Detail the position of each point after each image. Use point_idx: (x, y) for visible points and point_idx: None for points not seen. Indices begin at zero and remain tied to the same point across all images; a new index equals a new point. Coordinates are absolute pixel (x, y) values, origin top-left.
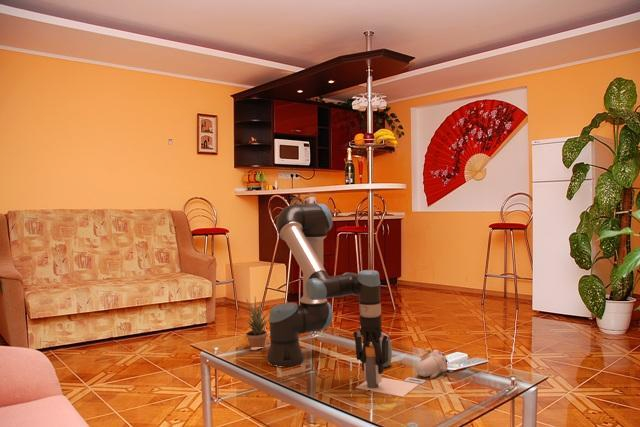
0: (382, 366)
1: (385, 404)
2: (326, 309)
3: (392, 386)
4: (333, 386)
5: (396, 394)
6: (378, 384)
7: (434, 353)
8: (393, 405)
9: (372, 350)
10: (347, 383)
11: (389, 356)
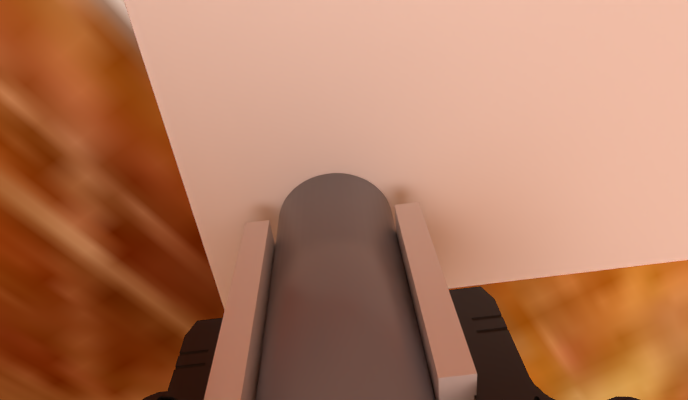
0: (520, 374)
1: (594, 393)
2: None
3: (513, 121)
4: (54, 369)
5: (623, 255)
6: (391, 215)
7: None
8: (651, 380)
9: None
10: (74, 272)
11: None
